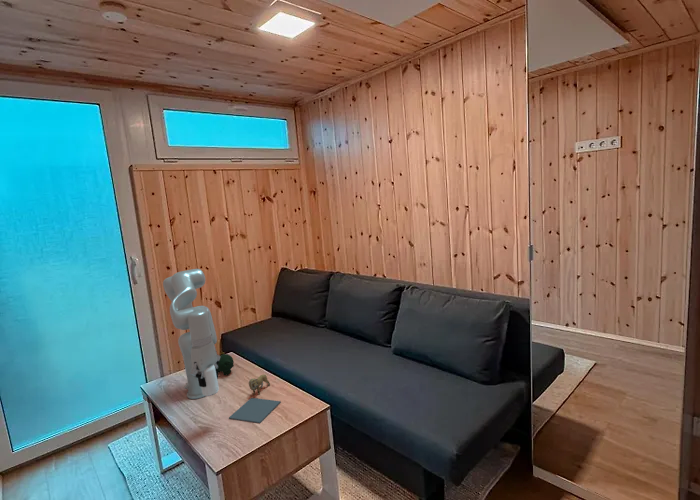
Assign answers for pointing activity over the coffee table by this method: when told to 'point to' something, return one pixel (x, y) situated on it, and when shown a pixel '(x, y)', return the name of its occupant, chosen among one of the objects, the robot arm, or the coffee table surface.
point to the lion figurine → (258, 383)
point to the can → (210, 381)
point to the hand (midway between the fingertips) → (209, 381)
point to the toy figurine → (225, 364)
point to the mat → (255, 410)
